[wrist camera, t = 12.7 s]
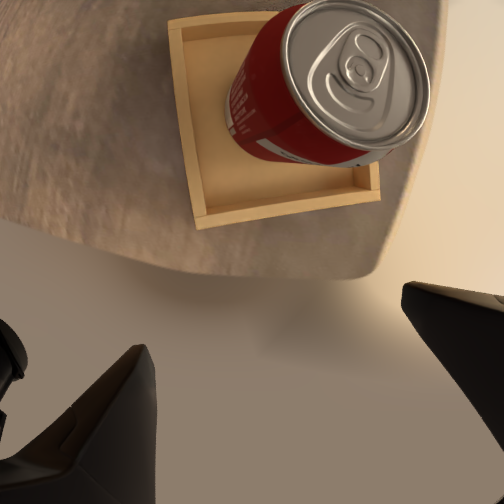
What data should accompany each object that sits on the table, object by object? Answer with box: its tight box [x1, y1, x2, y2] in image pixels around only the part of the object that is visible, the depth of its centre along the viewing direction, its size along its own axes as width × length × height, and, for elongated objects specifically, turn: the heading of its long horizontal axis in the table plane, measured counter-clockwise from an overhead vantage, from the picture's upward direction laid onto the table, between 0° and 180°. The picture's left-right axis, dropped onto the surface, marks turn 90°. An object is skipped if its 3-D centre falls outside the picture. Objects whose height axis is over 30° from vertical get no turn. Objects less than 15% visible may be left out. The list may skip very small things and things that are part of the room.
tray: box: [167, 11, 380, 230], centre depth 17 cm, size 14×13×3 cm
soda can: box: [224, 0, 430, 168], centre depth 13 cm, size 7×7×12 cm
